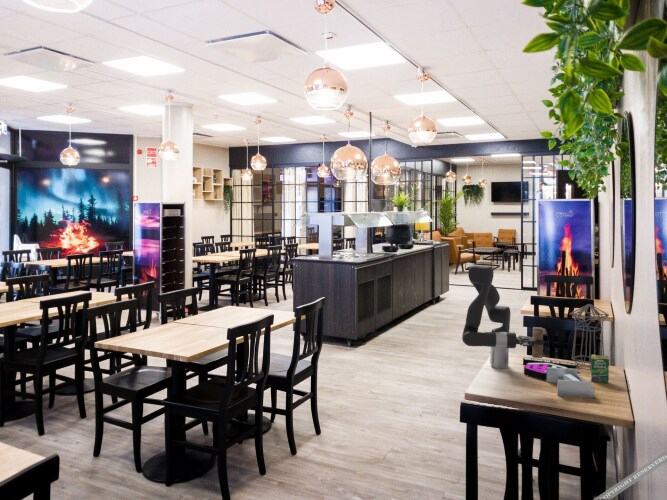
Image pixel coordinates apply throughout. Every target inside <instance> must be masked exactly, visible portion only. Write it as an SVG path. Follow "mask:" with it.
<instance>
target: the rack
mask: <svg viewBox="0 0 667 500" xmlns="http://www.w3.org/2000/svg"><path fill="white" fill-rule="evenodd" d="M564 374H571V375H572V376H574V377H575V378H577V379H578V380H580V381H573V380H564ZM545 381H546V383H552V384H553V383H554V384H556V383H557V384H556V385H557V386H556V396H558V397H570V398H571V397H573V398H588V399H594V398H595V388H594V387H593V386H592V381H591V380H589V381H588V380H586V379H584V378H583V377H582V376H581V374H578V368H577V369H570V368H550V367H547V372H546V380H545Z"/></svg>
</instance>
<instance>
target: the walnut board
mask: <svg viewBox="0 0 667 500" xmlns="http://www.w3.org/2000/svg"><path fill="white" fill-rule="evenodd" d="M532 337H533V339H535V340H544V328H543V327H537V326H536V327H535V326H533V327H532ZM531 348H532V349H531V351H532V352H531V358H536V359H543V345H535V346H531Z"/></svg>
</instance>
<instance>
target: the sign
mask: <svg viewBox="0 0 667 500" xmlns="http://www.w3.org/2000/svg"><path fill="white" fill-rule="evenodd" d="M522 365H523V375H524V374H525V375H524V376H527V375H528V376H527V377H530V376H531V378H534V379H538V380H541V381H546V372H547V367H550V368H570V369H577V370H578V368H577V363H572V362H569V361H561V360H552V359H543V358H533V357H531V358H530V357H523V358H522ZM524 365H525V366H524Z"/></svg>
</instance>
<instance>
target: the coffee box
mask: <svg viewBox="0 0 667 500" xmlns="http://www.w3.org/2000/svg"><path fill="white" fill-rule="evenodd" d="M590 357H591V358H590V362H591V364H590V365H591V370H590V382H595V383H604V384H606V383H607V384H608V383H609V379H610V376H609V374H610V373H609V371H610V370H609V367H610V366H609V365H610V363H609V359H610V358H609V355H604V356H603V355H602V356H601V354H599V355H598V354H597V355H596V354H595V355H594V354H591V355H590Z"/></svg>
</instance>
